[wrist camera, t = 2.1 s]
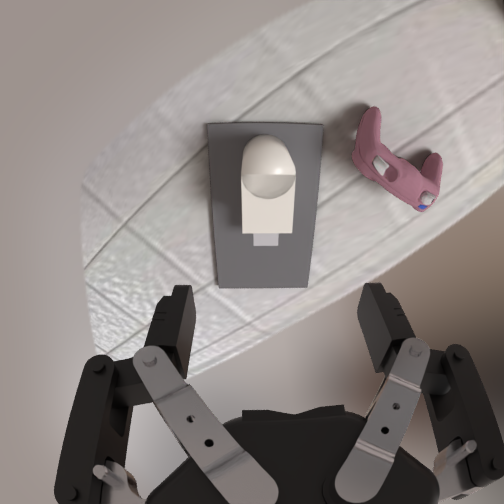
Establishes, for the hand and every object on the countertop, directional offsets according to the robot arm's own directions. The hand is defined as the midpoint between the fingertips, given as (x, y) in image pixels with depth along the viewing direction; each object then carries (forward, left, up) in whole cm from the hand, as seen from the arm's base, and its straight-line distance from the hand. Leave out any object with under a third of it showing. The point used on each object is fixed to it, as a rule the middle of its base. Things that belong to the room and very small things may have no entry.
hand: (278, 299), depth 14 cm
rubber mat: (+4, 0, -17) cm, 17 cm away
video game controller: (-3, +12, -17) cm, 21 cm away
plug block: (0, 0, -16) cm, 16 cm away
